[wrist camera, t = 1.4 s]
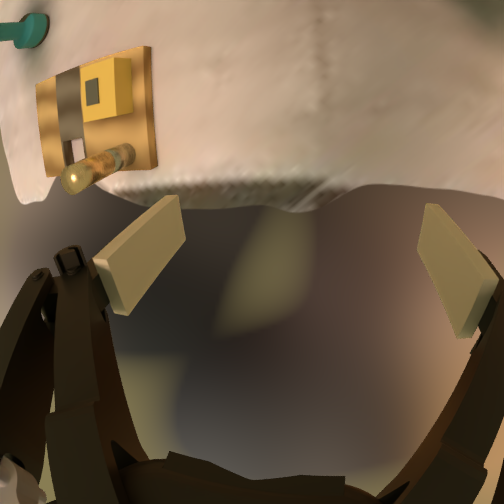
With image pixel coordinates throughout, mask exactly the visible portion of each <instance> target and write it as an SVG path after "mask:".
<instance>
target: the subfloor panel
mask: <svg viewBox="0 0 504 504" xmlns="http://www.w3.org/2000/svg"><path fill="white" fill-rule="evenodd" d="M113 57H116V58H130V59H131V73H132V96H133V113H128V114H123V115H119V116H113V117H108V118H103V119H98V120H93V121H89V122H84V120H83V109H82V95H81V72H80V69H81V68H83V67H86V66H89V65H92V64H95V63H98V62H101V61H104V60H107V59H110V58H113ZM36 102H37V114H38V124H39V132H40V140H41V147H42V153H43V159H44V165H45V171H46V176H47V177H55V176H61V172H62V170H63V169H64V168H65V167H67V166H69V165H71V164H74V159H73V153H72V146H71V140H73V139H78V138H83V146H84V153H85V158H87V157H90V156H92V155H95V154H97V153H100V152H102V151H105V150H107V149H110V148H112V147H115V146H118V145H120V144H123V143H129V144H130V145H132V146H133V148H134V149H135V153H136V157H135V160H134V162H133V163H132V164H131V165H129V166H127V167H125V168H123V169H121V170H119V171H130V170H151V169H153V168H155V167H157V166H158V164H157V154H156V143H155V131H154V118H153V102H152V80H151V47H148V46H140V47H136V48H133V49H129V50H125V51H122V52H118V53H115V54H112V55H109V56H106V57H102V58H99V59H97V60H94V61H91V62H88V63H85V64H83V65H80V66H77V67H75V68H72V69H70V70H67V71H65V72H63V73H60V74H58V75H56V76H53V77H51V78H49V79H47V80H45V81H43V82H40V83H38V84H36Z"/></svg>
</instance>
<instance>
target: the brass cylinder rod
mask: <svg viewBox="0 0 504 504" xmlns="http://www.w3.org/2000/svg"><path fill="white" fill-rule="evenodd" d="M135 157H136V153H135V149H134V148H133V146H132V145H130V144H129V143H123V144H120V145H118V146H115V147H112V148H110V149H107V150H105V151H102V152H100V153H97V154H95V155H92V156H90V157H87V158H85V159H83V160H80V161H78V162H76V163H74V164H71V165H69V166H67V167H65V168H64V169H63V170H62V172H61V184H62V186H63V188H64V190H65V191H66V192H67V193H69V194H70V195H75V194H77V193H78V192H80V191H82V190H84V189H85V188H87V187H89V186H91V185H92V184H94V183H96V182H98V181H100V180H102V179H103V178H105V177H107V176H109V175H111V174H113V173H115V172H117V171H119V170H121V169H123V168H125V167H127V166H129V165H131V164H132V163H133V162H134V160H135Z"/></svg>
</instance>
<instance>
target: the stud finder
mask: <svg viewBox="0 0 504 504" xmlns="http://www.w3.org/2000/svg"><path fill="white" fill-rule="evenodd" d="M80 72H81V95H82V109H83V120H84V122H89V121H93V120H98V119H103V118H108V117H113V116H119V115H123V114H128V113H133V96H132V73H131V59H130V58H116V57H113V58H110V59H107V60H104V61H101V62H98V63H95V64H92V65H89V66H86V67H83V68H81V69H80Z"/></svg>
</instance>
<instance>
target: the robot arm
mask: <svg viewBox="0 0 504 504" xmlns="http://www.w3.org/2000/svg"><path fill="white" fill-rule="evenodd" d="M185 240H186V238H185V232H184V227H183V221H182V216H181V210H180V204H179V198H178V195H166V196H164V197H163V198H162V199H161V200H159V201H158V202H157V203H156V204H154V205H153V206H152V207H151V208H150V209H149V210H147V211H146V212H145V213H143V214H142V215H141V216H140V217H139V218H138V219H136V220H135V221H134V222H133V223H132V224H130V225H129V226H128V227H127V228H126V229H125V230H123V231H122V232H121V233H120V234H119V235H118V236H117V237H115V238H114V239H112V240H111V241H110V242H109V243H108V244H107V245H106V246H105V247H103V248H102V249H101V251H99V252H98V253H97V254H96V255H95V256H94V257H92V258H91V259H90V260H89V261H88V262H87V263H86V260H85V257H84V254H83V252H82V249H81V246H79V245H72V246H68V247H66V248H64V249H62V250H60V251H59V252H58V253H57V254H56V255H55V256H54V261H55V263H56V265H57V268H58V271H59V273H60V276H58V277H52V274H51V273H50V270H49V268H41V269H37V270H35V271H34V272H33V273H32V274H31V275H30V276H29V277H28V278H27V280H26V281H25V283H24V285H23V286H22V288H21V290H20V292H19V294H18V295H17V297H16V299H15V300H14V302H13V304H12V306H11V308H10V310H9V312H8V314H7V316H6V318H5V320H4V322H3V324H2V326H1V328H0V504H45V503H46V500H47V499H46V494H45V492H44V491H43V490H42V489H40V488H39V486H38V485H39V482H40V479H41V474H42V469H43V463H44V455H45V445H46V443H47V450H48V459H49V465H50V471H51V477H52V482H53V487H54V491H55V496H56V500H54V501H51V502H49V503H46V504H473V502H474V500H475V498H476V497H477V495H478V493H479V491H480V490H481V488H482V486H483V484H484V482H485V479H486V477H487V469H485V468H484V462H485V460H486V458H487V455H488V454H489V451H490V449H491V447H492V445H493V442H494V440H495V438H496V435H497V433H498V430H499V428H500V425H501V423H502V420H503V417H504V279H503V278H502V277H501V275H500V274H499V272H498V271H497V270H496V268H495V267H494V265H493V264H491V261H490V260H489V259H488V257H487V256H486V255H484V254H483V253H482V252H481V251H479V250H477V249H476V248H475V246H474V245H473V244H472V243H471V241H470V240H469V239H468V238H467V236H466V235H465V234H464V233H463V232H462V231H461V229H460V228H459V227H458V226H457V225H456V224H455V222H454V221H453V220H452V219H451V218H450V217H449V215H448V214H447V213H446V212H445V211H444V210H443V209H442V208H441V207H440V206H439V205H438V204H430V203H426V206H425V212H424V217H423V223H422V228H421V232H420V237H419V242H418V246H417V252H418V253H419V255H420V257H421V259H422V261H423V263H424V265H425V267H426V269H427V271H428V273H429V275H430V277H431V279H432V282H433V283H434V286H435V288H436V290H437V292H438V294H439V296H440V299H441V301H442V303H443V306H444V308H445V310H446V313H447V315H448V318H449V320H450V323H451V325H452V328H453V330H454V333H455V335H456V338H457V339H461V338H472V336H473V334H474V332H475V331H476V329H477V327H479V329H480V331H481V334H480V336H479V338H478V340H477V342H476V344H475V345H474V347H473V348H472V350H471V352H470V354H471V356H470V359H469V361H468V363H467V365H466V367H465V369H464V371H463V373H462V375H461V377H460V380H459V381H458V384H457V386H456V387H455V389H454V391H453V393H452V395H451V397H450V398H449V400H448V402H447V404H446V406H445V407H444V409H443V411H442V412H441V414H440V416H439V417H438V419H437V421H436V422H435V424H434V425H433V427H432V428H431V430H430V432H429V433H428V435H427V436H426V438H425V439H424V441H423V442H422V443H421V445H420V446H419V448H418V449H417V451H416V452H415V453H414V455H413V456H412V458H411V459H410V460H409V461H408V463H407V464H406V465H405V467H404V468H403V469H402V470H401V471H400V473H399V474H398V475H397V476H396V477H395V478H394V479H393V480H392V481H391V482H390V483H389V484H388V485H387V486H386V487H385V488H384V489H383V490H382V491H381V492H380V493H379V494H378V495H377V496H376V497H374V496H372V495H371V494H369V493H368V492H366V491H364V490H361V489H359V488H356V487H353V486H350V485H346V484H345V476H310V475H297V476H291V477H283V478H274V479H264V480H250V479H247V478H244V477H242V476H240V475H237V474H235V473H233V472H230V471H228V470H226V469H224V468H221V467H219V466H217V465H215V464H213V463H211V462H209V461H205V460H201V459H197V458H192V457H189V456H185V455H182V454H178V453H175V452H171V451H169V453H168V456H167V458H166V459H153V460H149V458H148V456H147V455H146V453H145V452H144V450H143V448H142V446H141V444H140V442H139V439H138V437H137V434H136V430H135V427H134V424H133V421H132V418H131V414H130V411H129V408H128V404H127V401H126V397H125V394H124V389H123V386H122V382H121V378H120V373H119V369H118V365H117V360H116V356H115V351H114V346H113V341H112V335H111V330H110V324H109V318H108V313H107V311H106V309H105V307H106V306H107V305H108V304H109V302H110V304H111V307H112V309H113V311H114V313H116V314H121V315H127V316H128V315H129V314H130V312H131V311H132V310H133V308H134V307H135V305H136V304H137V303H138V301H139V300H140V299H141V297H142V296H143V295H144V293H145V292H146V291H147V289H148V288H149V287H150V285H151V284H152V283H153V281H154V280H155V279H156V277H157V276H158V275H159V273H160V272H161V271H162V269H163V268H164V267H165V265H166V264H167V263H168V262H169V260H170V259H171V258H172V256H173V255H174V254H175V253H176V251H177V250H178V249H179V248H180V246H181V245H182V244H183V243H184V241H185ZM41 312H42V314H43V316H44V317H45V319H44V321H43V319H42V315H41ZM53 391H54V394H55V412H52V413H50V407H51V402H52V396H53ZM491 504H504V460H503V464H502V468H501V472H500V476H499V480H498V483H497V487H496V490H495V494H494V496H493V500H492V503H491Z"/></svg>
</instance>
